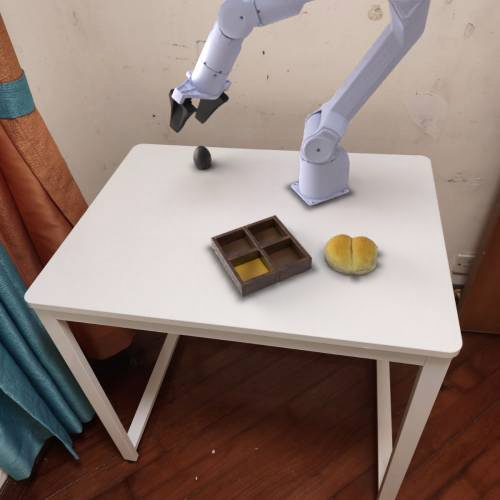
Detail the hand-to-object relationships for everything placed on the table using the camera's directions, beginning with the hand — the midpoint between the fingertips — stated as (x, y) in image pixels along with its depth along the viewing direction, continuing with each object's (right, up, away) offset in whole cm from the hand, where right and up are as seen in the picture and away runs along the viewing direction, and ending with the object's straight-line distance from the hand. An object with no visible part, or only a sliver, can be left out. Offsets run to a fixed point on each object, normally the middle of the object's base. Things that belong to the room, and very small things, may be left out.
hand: (187, 124), depth 86 cm
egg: (+2, -5, +16) cm, 16 cm away
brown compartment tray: (+14, -26, -7) cm, 30 cm away
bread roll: (+30, -26, -9) cm, 40 cm away
